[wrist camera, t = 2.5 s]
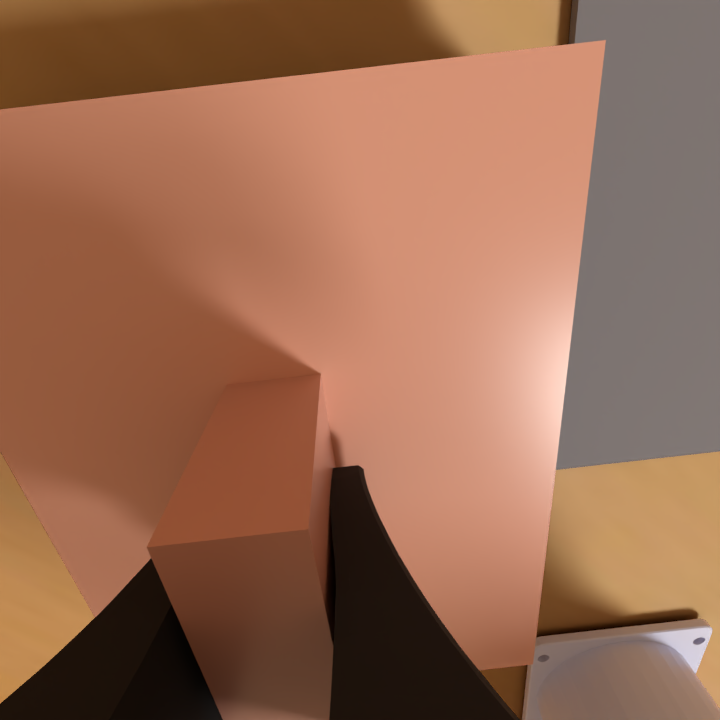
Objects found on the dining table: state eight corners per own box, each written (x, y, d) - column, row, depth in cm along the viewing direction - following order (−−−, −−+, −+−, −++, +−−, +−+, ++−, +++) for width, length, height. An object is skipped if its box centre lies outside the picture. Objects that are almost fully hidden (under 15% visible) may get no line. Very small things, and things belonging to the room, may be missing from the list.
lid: (514, 616, 15) (606, 855, 10) (164, 655, 15) (74, 914, 10) (558, 61, 8) (944, -112, 3) (-92, 135, 8) (-840, 95, 3)
